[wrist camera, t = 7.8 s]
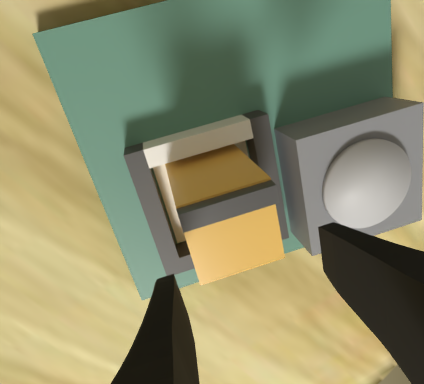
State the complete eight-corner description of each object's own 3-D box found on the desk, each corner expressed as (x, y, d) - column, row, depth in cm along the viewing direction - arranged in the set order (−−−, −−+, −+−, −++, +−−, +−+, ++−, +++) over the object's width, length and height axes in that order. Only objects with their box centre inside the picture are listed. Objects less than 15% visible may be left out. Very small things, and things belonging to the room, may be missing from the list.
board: (376, -50, 18) (444, -79, 14) (385, 211, 25) (433, 241, 21) (38, 35, 17) (6, 28, 13) (141, 290, 23) (142, 340, 19)
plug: (233, 143, 19) (276, 182, 13) (246, 205, 21) (290, 265, 15) (164, 163, 19) (177, 212, 13) (183, 224, 21) (202, 294, 15)
